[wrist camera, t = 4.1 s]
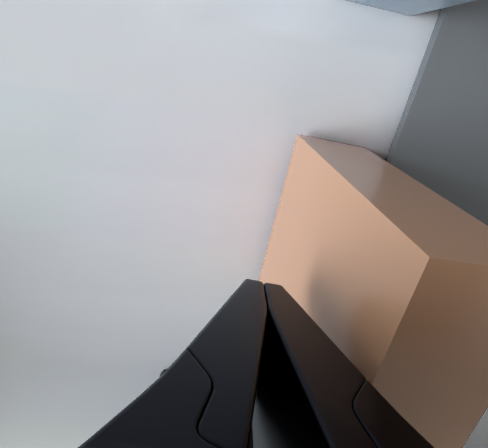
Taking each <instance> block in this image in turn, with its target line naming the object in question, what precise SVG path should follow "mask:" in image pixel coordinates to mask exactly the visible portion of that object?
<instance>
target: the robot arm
mask: <svg viewBox="0 0 488 448" xmlns="http://www.w3.org/2000/svg"><path fill="white" fill-rule="evenodd" d="M78 448H435V447H433V446H432V445H431V444H430V443H429V442H428V441H427V440H426V439H425V438H424V437H423V436H422V435H421V434H420V433H419V432H418V431H417V430H416V429H415V428H414V427H413V426H412V425H410V424H409V423H408V422H407V421H406V420H405V419H404V418H403V417H402V416H401V415H400V414H399V413H398V412H397V411H396V410H395V409H394V407H393V406H392V405H391V404H390V403H389V402H388V401H387V400H386V399H385V398H384V397H383V396H382V395H381V394H380V393H379V392H378V391H377V389H376V388H375V387H374V386H373V385H372V384H371V383H370V382H369V381H368V380H366V378H365V376H364V375H363V374H362V373H361V372H360V371H359V370H358V369H357V368H356V367H355V365H354V364H353V363H352V362H351V361H350V360H349V359H348V358H347V357H346V356H345V354H344V353H343V352H342V351H341V350H340V349H339V348H338V347H337V346H336V345H335V343H334V342H333V341H332V340H331V339H330V338H329V337H328V336H327V335H326V334H325V332H324V331H323V330H322V329H321V328H320V327H319V326H318V325H317V324H316V323H315V321H314V320H313V319H312V318H311V317H310V316H309V315H308V314H307V313H306V312H305V310H304V309H303V308H302V307H301V306H300V305H299V304H298V303H297V302H296V301H295V299H294V298H293V297H292V296H291V295H290V294H289V293H288V292H287V291H286V290H285V288H284V287H283V286H281V285H278V284H272V283H264V284H263V283H262V282H261V281H256V280H250V279H246V280H245V281H244V282H243V283H242V284H241V285H240V286H239V288H238V289H237V290H236V291H235V292H234V293H233V295H232V296H231V297H230V298H229V299H228V300H227V302H226V303H225V304H224V305H223V306H222V307H221V309H220V310H219V311H218V312H217V313H216V314H215V316H214V317H213V318H212V319H211V320H210V321H209V323H208V324H207V325H206V326H205V327H204V328H203V330H202V331H201V332H200V333H199V334H198V335H197V337H196V338H195V339H194V340H193V341H192V342H191V343H190V345H189V346H188V347H187V348H186V350H184V351H183V353H182V354H181V355H180V356H179V357H178V358H177V360H176V361H175V362H174V363H173V364H172V365H171V366H170V367H169V368H168V369H165V370H163V371H162V372H161V374H160V377H159V378H158V379H157V380H156V381H155V382H154V383H153V384H152V385H151V386H150V387H149V388H147V389H146V390H145V391H144V392H143V393H142V394H141V395H140V396H138V397H137V398H136V399H135V400H134V401H133V402H131V403H130V404H129V405H128V406H127V407H126V408H124V409H123V410H122V411H121V412H120V413H119V414H117V415H116V416H115V417H114V418H113V419H112V420H110V421H109V422H108V423H107V424H106V425H104V426H103V427H102V428H101V429H100V430H99V431H97V432H96V433H95V434H94V435H93V436H92V437H90V438H89V439H88V440H87V441H86V442H84V443H83V444H82V445H81V446H79V447H78Z"/></svg>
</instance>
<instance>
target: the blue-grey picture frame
mask: <svg viewBox="0 0 488 448" xmlns="http://www.w3.org/2000/svg"><path fill="white" fill-rule="evenodd" d="M347 1H351V2H355V3H359V4H363V5H367V6H371V7H375V8H379V9H383V10H388V11H392V12H396V13H400V14H404V15H408V16H412V15H417V14H421V13H425V12H429V11H433V10H438V9H442V8H446V7H450V6H454V5H459V4H463V3H467V2H471V1H476V0H347Z"/></svg>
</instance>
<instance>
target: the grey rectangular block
mask: <svg viewBox="0 0 488 448" xmlns="http://www.w3.org/2000/svg"><path fill="white" fill-rule="evenodd" d="M386 161H387V162H388V163H390V164H391V165H393V166H395V167H396V168H398V169H399V170H401V171H402V172H404V173H406V174H407V175H409V176H410V177H412V178H413V179H415V180H417V181H418V182H420V183H421V184H423V185H424V186H426V187H428V188H429V189H431V190H432V191H434V192H435V193H437V194H439V195H440V196H442V197H443V198H445V199H446V200H448V201H450V202H451V203H453V204H454V205H456V206H457V207H459V208H461V209H462V210H464V211H465V212H467V213H469V214H470V215H472V216H473V217H475V218H476V219H478V220H480V221H481V222H483V223H484V224H486V225H487V226H488V0H476V1H471V2H467V3H463V4H459V5H454V6H450V7H446V8H442V9H441V11H440V14H439V17H438V19H437V22H436V25H435V28H434V30H433V33H432V36H431V39H430V41H429V44H428V47H427V50H426V52H425V55H424V58H423V61H422V63H421V66H420V69H419V71H418V74H417V77H416V80H415V82H414V85H413V88H412V91H411V93H410V96H409V99H408V102H407V104H406V107H405V110H404V113H403V115H402V118H401V121H400V123H399V126H398V129H397V132H396V134H395V137H394V140H393V143H392V145H391V148H390V151H389V154H388V156H387V159H386Z"/></svg>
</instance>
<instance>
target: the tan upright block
mask: <svg viewBox="0 0 488 448" xmlns="http://www.w3.org/2000/svg"><path fill="white" fill-rule="evenodd" d="M258 281H261V282H262V283H263V284H264V283H272V284H278V285H281V286H283V287H284V288H285V290H286V291H287V292H288V293H289V294H290V295H291V296H292V297H293V298H294V299H295V301H296V302H297V303H298V304H299V305H300V306H301V307H302V308H303V309H304V310H305V312H306V313H307V314H308V315H309V316H310V317H311V318H312V319H313V320H314V321H315V323H316V324H317V325H318V326H319V327H320V328H321V329H322V330H323V331H324V332H325V334H326V335H327V336H328V337H329V338H330V339H331V340H332V341H333V342H334V343H335V345H336V346H337V347H338V348H339V349H340V350H341V351H342V352H343V353H344V354H345V356H346V357H347V358H348V359H349V360H350V361H351V362H352V363H353V364H354V365H355V367H356V368H357V369H358V370H359V371H360V372H361V373H362V374H363V375H364V376H365V378H366V380H368V381H369V382H370V383H371V384H372V385H373V386H374V387H375V388H376V389H377V391H378V392H379V393H380V394H381V395H382V396H383V397H384V398H385V399H386V400H387V401H388V402H389V403H390V404H391V405H392V406H393V407H394V409H395V410H396V411H397V412H398V413H399V414H400V415H401V416H402V417H403V418H404V419H405V420H406V421H407V422H408V423H409V424H410V425H412V426H413V427H414V428H415V429H416V430H417V431H418V432H419V433H420V434H421V435H422V436H423V437H424V438H425V439H426V440H427V441H428V442H429V443H430V444H431V445H432V446H433V447H435V448H462V447H463V445H464V444H465V442H466V441H467V439H468V438H469V436H470V434H471V433H472V431H473V430H474V428H475V427H476V425H477V423H478V422H479V420H480V419H481V417H482V415H483V414H484V412H485V411H486V409H487V408H488V226H487V225H486V224H484V223H483V222H481V221H480V220H478V219H476V218H475V217H473V216H472V215H470V214H469V213H467V212H465V211H464V210H462V209H461V208H459V207H457V206H456V205H454V204H453V203H451V202H450V201H448V200H446V199H445V198H443V197H442V196H440V195H439V194H437V193H435V192H434V191H432V190H431V189H429V188H428V187H426V186H424V185H423V184H421V183H420V182H418V181H417V180H415V179H413V178H412V177H410V176H409V175H407V174H406V173H404V172H402V171H401V170H399V169H398V168H396V167H395V166H393V165H391V164H390V163H388V162H387V161H385V160H384V159H382V158H380V157H379V156H377V155H376V154H374V153H373V152H371V151H369V150H368V149H366V148H363V147H358V146H353V145H348V144H343V143H338V142H333V141H328V140H323V139H318V138H313V137H308V136H303V135H298V134H297V138H296V141H295V145H294V149H293V153H292V156H291V160H290V164H289V168H288V171H287V175H286V179H285V183H284V186H283V190H282V194H281V198H280V201H279V205H278V209H277V213H276V216H275V220H274V224H273V228H272V231H271V235H270V239H269V243H268V247H267V250H266V254H265V258H264V262H263V265H262V269H261V273H260V277H259V280H258Z"/></svg>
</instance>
